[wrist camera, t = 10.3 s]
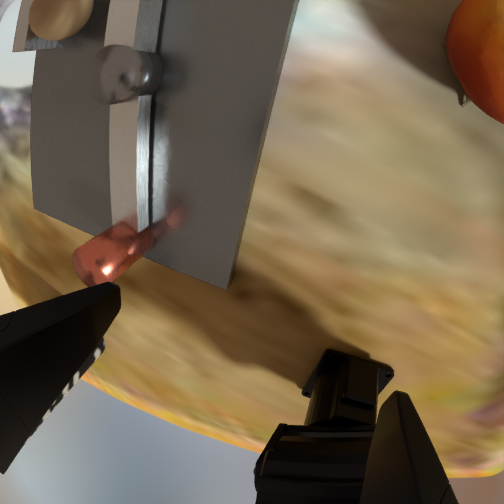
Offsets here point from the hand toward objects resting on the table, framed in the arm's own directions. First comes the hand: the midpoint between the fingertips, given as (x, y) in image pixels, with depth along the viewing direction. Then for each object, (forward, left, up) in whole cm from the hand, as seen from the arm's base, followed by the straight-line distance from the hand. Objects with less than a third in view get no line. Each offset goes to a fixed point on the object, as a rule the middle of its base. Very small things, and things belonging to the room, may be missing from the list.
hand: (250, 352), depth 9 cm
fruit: (+13, -8, -13) cm, 20 cm away
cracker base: (+3, +15, -13) cm, 20 cm away
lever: (+2, +13, -12) cm, 17 cm away
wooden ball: (+11, +20, -12) cm, 26 cm away
